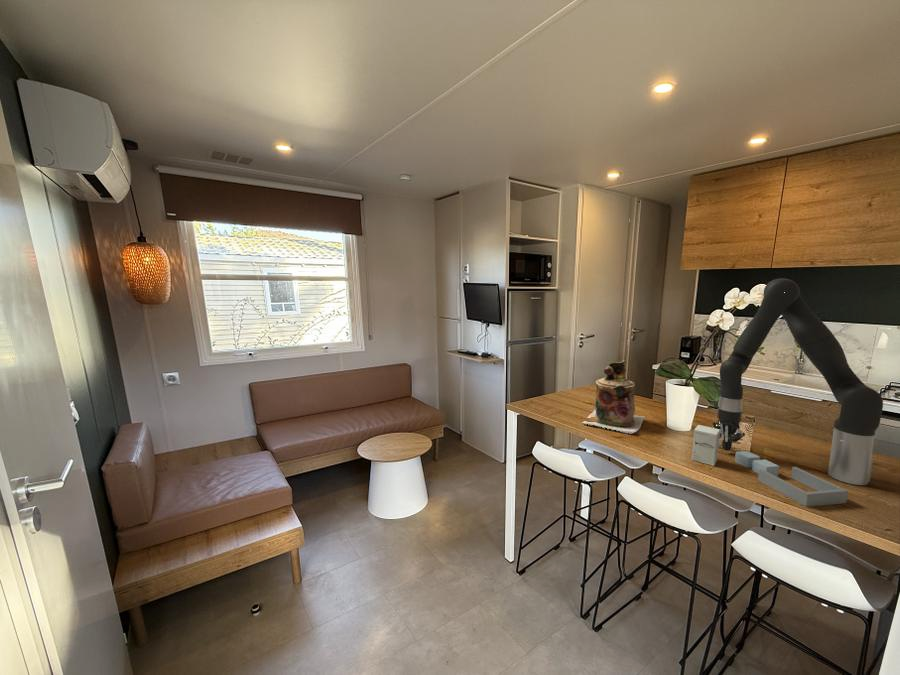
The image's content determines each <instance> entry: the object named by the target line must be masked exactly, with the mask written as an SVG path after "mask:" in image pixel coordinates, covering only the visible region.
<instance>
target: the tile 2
mask: <svg viewBox="0 0 900 675" xmlns="http://www.w3.org/2000/svg"><path fill="white" fill-rule="evenodd" d="M761 469H763V470H764V471H766V472H768V473H770V474H772V475H774V476H776V477H778V478H779V475H780V474H779V473H780V466H779V465H778V464H775V463H773V462H771V461H769V460H768V459H760V460H753V466H752V467H751V472H755V474H758V475H759V470H761Z"/></svg>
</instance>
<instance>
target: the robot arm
mask: <svg viewBox="0 0 900 675" xmlns="http://www.w3.org/2000/svg"><path fill="white" fill-rule="evenodd" d="M784 292H785V293H784ZM781 316H782V318H783V319H784V321H785V323H786V324H787V327H788V329H789V331H790V334H791V335H792V337H793V339H794V341H795V342H796V343H797V345H798V346H799V348H800V349H801V351H802V352H803V353H804V355H805V356H806V357H807V358H808V360H809V361H810V363H811V364H812V365H813V366H814V367H815V368H816V369H817V370H818V371H819V373H820V374H821V375H822V376H823V378H824V380H825V381H826V383H827V386H828V387H829V389H830V390H831V393H832V394H833V396H834V399H835V401H836V402H837V403H839V405H840V406H841V407H840V412H839V417H838V418H836V419H835V420H834V424H833V433H832V439H831V440H832V442H831V449H830V455H829V456H830V457H829V464H828V471H827V472H828V473H827V474H828V475H829V476H830V477H831V478H833V479H835V480H836V481H840V482H843V483H846V484H850V485H857V486H867V485H868V483H870V481H871V478H872V477H871V476H872V468H873V462H874V455H873V449H874V442H875V435H876V430H877V429H878V428H879V426H880V423H881V418H882V415H883V414H882V413H883V408H884V400H883V396H882V395H881V394H880V393H879V392H878V391H876V389H873V388H871V387H869V386H867V385H866V384H865V383H864V382H863V381H862V380H861V379H860V378H859V376H858V375H856V373H855V372H854V371H853V370H852V368H851V367H850V365H849V363H848V361H847V360H848V359H847V357H846V355H845V352H844V349H843V347H842V345H841V344H840V342H839V341H838V339H837V338H836V337H835V335H834V334H833V332H832V330H830V329H829V327H828V326H827V325H826V324H825V323H824V322H823V321H822V319H820V318H819V317H818V316H817V315H816V314H815V313H814V312H813V311H812V310H811V309H810V307H809V306H808V305H807V302H805V299H804V298H803V296H802V294H801V292H800V287H799V285H798V283H796V282H795V281H793V280H792V279H788V278H786V277H785V278H783V277H781V278H775V279H772V280H770V281H769V282H768V283H767V284H766V285H765V287H764V289H763V298H762V301H761V303H760V306H759V308H758V309H757V312H756V313H755V314H754V316H753V318H752V319H751V321H749V323H747V325H746V327H745V328H744V330H743V331H742V333H741V334H740V335H739V337H738V338H737V341H736V342H735V344H734V345H733V351H732V352H731V353H730V355H729V357H728V358H727V359H726V360H724V361H723V362H722V363H721V364H720V367H719V381H720V388H719V398H718V405H717V421H716V422H712V426H713V428H715V429H720V438H721V440H722V443H721V447H722V450H724V451H725V452H726V451H729V452H730V451H731V450H732V446H733V445H732V444H733V443H737V442H739V441H740V440H741V439H742V438H744V437H745V436H746V433H745V432H742V431H741V426H740V423H741V422H742V417H743V416H742V415H743V396H744V395H743V394H744V393H743V392H744V386H743V385H742V378H743V376H742V375H743V374H745V372H747V370H748V368H749V367H750V365H751V362H752V360H753V358H754V356H755V355H756V354H757V352H758V351H759V350H760V348H761V346H762V345H763V343H764V341H765V340H766V339H767V337H768V335H769V333H770V331H771V330H772V328H773V327H774V325H775V323H776V322H778V319H779V318H780V317H781ZM718 407H719V408H718ZM719 421H720V424H719ZM719 425H720V426H719Z"/></svg>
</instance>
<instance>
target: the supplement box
mask: <svg viewBox="0 0 900 675" xmlns="http://www.w3.org/2000/svg"><path fill="white" fill-rule="evenodd" d="M720 438H721V437H720V429H715V428H714V427H709V426H707V425H706V426H705V425H701V424H697V426H695V428H694V430H693V439H692V440H693V441H692V450H691V451H692V453H691V461H695V462H699V463H703V464H706V465H709V466H712V467H715V464H716V463H717V461H718V456H719V455H718V454H719V447H720Z"/></svg>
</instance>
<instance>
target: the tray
mask: <svg viewBox="0 0 900 675" xmlns="http://www.w3.org/2000/svg"><path fill="white" fill-rule="evenodd" d="M790 478H791V479H793V480H795V481H797V482H798V483H801V484H803V485H805V486H806V487H808V488H811V489H813V491H805V490H804V489H802V488H800V487H798V486H796V485H794V484H792V483H790V482H788V481H786V480H784V479H782V478H781V477H779V476H778V477H776V476H774V475H772V474H770V473H768V472H766V471H764V470H763V469H761V470H759V474H758V476H757V481H758V482H760V483H762V484H763V485H766V487H770V488H771V489H773V490H775V491H777V492H778V493H780V494H782V495H784V496H785V497H787V498H789V499H791V500H793V501H795V502H796V503H799V504H800V505H801V506H804V507H815V506H816V507H817V506H819V507H820V506H828V505H830V506H831V505H841V504H847V503H848V502H847V501H848V495H849V490H847V489H845V488H843V487H842V486H841V487H840V486H838V485H837V484H834V483H832V482H830V481H827V480H826V479H823V478H821V477H819V476H816V475H814V474H812V473H810V472H808V471H806V470H803V469H802V468H799V467H797V466H792V468H791V476H790Z"/></svg>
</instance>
